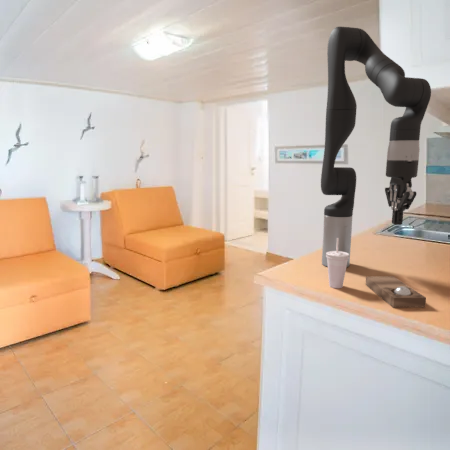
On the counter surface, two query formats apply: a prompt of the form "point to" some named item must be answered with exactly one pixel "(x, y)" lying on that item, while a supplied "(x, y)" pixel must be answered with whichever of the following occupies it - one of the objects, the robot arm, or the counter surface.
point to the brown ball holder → (386, 288)
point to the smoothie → (336, 266)
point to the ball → (402, 291)
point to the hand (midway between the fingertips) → (396, 224)
